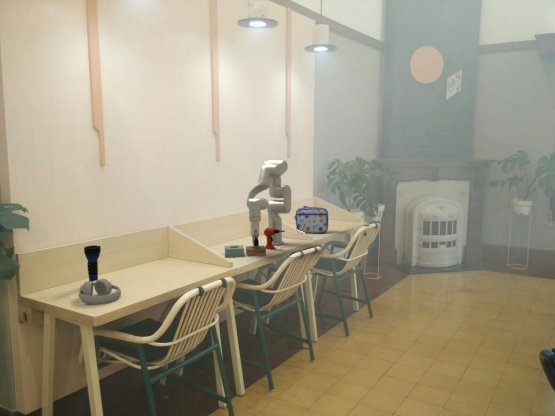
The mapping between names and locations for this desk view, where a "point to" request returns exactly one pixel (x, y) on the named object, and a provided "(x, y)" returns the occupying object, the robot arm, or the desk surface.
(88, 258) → the flashlight
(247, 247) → the socket block
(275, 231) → the toy drill
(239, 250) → the rack holder
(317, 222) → the lunch box
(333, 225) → the desk surface
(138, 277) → the desk surface
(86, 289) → the headphones
